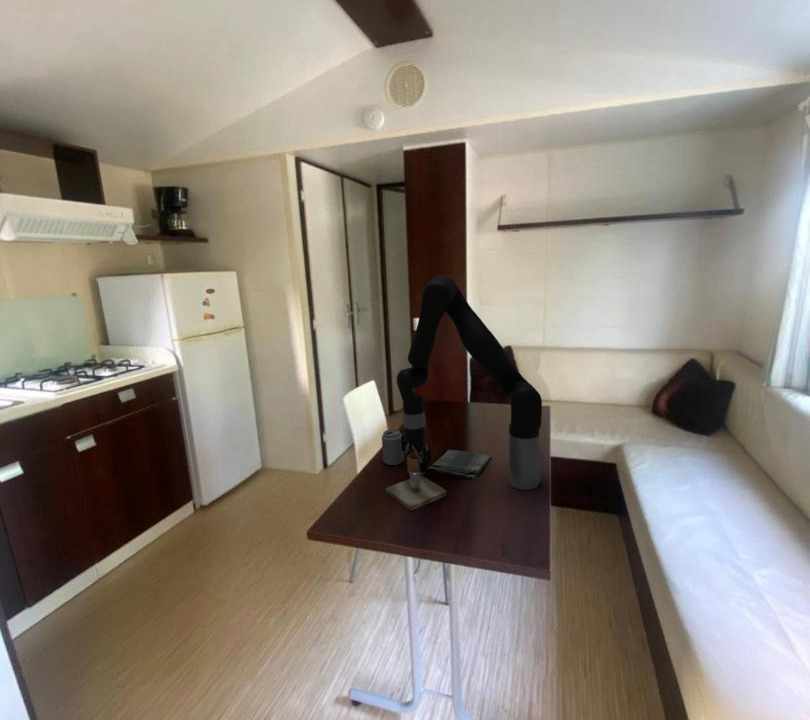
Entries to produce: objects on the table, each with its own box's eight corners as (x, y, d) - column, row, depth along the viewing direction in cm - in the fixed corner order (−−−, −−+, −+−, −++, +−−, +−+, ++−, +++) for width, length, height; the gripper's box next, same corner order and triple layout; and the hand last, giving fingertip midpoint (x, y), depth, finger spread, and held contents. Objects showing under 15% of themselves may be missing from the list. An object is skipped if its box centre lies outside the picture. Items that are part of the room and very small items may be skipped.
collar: (418, 466, 155) (417, 451, 154) (428, 472, 150) (428, 456, 149) (404, 471, 152) (404, 455, 150) (414, 477, 147) (413, 461, 146)
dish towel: (448, 452, 166) (447, 444, 166) (492, 460, 158) (492, 452, 157) (426, 473, 151) (426, 464, 150) (474, 483, 142) (474, 474, 141)
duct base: (420, 478, 146) (420, 474, 145) (447, 495, 134) (446, 491, 134) (385, 492, 138) (385, 488, 138) (410, 511, 127) (410, 506, 126)
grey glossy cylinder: (416, 486, 138) (415, 468, 137) (422, 490, 135) (421, 472, 134) (408, 489, 136) (407, 472, 135) (414, 493, 134) (413, 475, 132)
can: (391, 456, 165) (389, 426, 162) (407, 460, 160) (405, 430, 158) (379, 463, 159) (377, 433, 156) (395, 468, 154) (393, 437, 152)
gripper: (435, 427, 143) (437, 471, 147) (411, 416, 155) (413, 458, 158) (417, 432, 139) (419, 478, 143) (393, 421, 151) (396, 463, 154)
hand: (416, 467), depth 150 cm, fingers open, 8 cm apart
